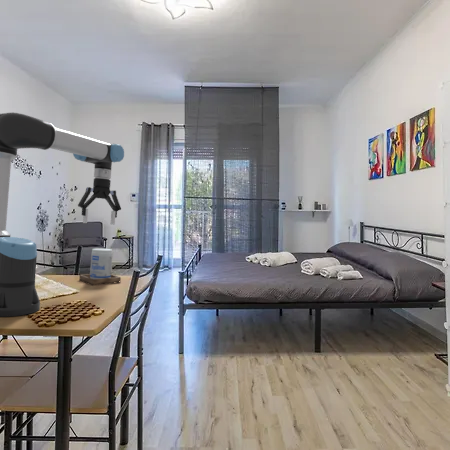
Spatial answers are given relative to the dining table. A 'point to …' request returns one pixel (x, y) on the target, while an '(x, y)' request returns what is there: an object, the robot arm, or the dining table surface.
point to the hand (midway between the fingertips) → (99, 223)
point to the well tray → (90, 281)
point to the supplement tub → (101, 263)
